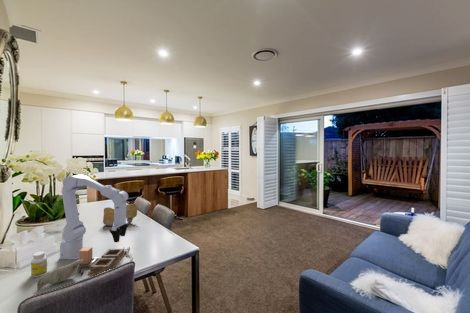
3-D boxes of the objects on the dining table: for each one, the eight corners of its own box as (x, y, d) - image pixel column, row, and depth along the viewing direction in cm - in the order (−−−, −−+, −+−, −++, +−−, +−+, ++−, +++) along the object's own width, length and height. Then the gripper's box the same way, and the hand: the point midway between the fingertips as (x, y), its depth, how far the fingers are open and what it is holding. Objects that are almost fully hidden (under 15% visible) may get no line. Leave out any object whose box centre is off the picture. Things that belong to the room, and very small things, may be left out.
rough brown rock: (137, 218, 184) (137, 201, 184) (137, 223, 168) (136, 204, 169) (105, 222, 174) (105, 203, 175) (102, 228, 159) (102, 207, 160)
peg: (79, 266, 108) (79, 250, 108) (84, 262, 112) (84, 247, 112) (87, 266, 109) (87, 250, 108) (92, 262, 113) (92, 247, 112)
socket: (72, 268, 106) (72, 265, 106) (82, 260, 114) (82, 257, 114) (89, 268, 107) (89, 265, 107) (98, 260, 115) (98, 257, 115)
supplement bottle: (28, 275, 100) (28, 254, 99) (42, 269, 105) (42, 249, 104) (35, 278, 98) (35, 257, 97) (49, 272, 103) (49, 251, 102)
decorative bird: (36, 287, 92) (36, 270, 92) (81, 272, 104) (81, 256, 104) (38, 293, 89) (38, 275, 88) (85, 276, 101) (85, 260, 100)
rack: (87, 274, 102) (87, 267, 102) (108, 253, 122) (109, 248, 122) (107, 274, 103) (108, 267, 103) (125, 253, 123) (125, 248, 123)
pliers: (110, 261, 112) (117, 247, 126) (110, 264, 112) (117, 250, 127) (131, 258, 115) (135, 245, 129) (131, 261, 115) (135, 248, 130)
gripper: (122, 218, 111) (121, 244, 112) (132, 210, 125) (132, 233, 126) (107, 218, 110) (107, 244, 111) (120, 210, 125) (119, 233, 125)
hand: (119, 238), depth 118 cm, fingers open, 7 cm apart
